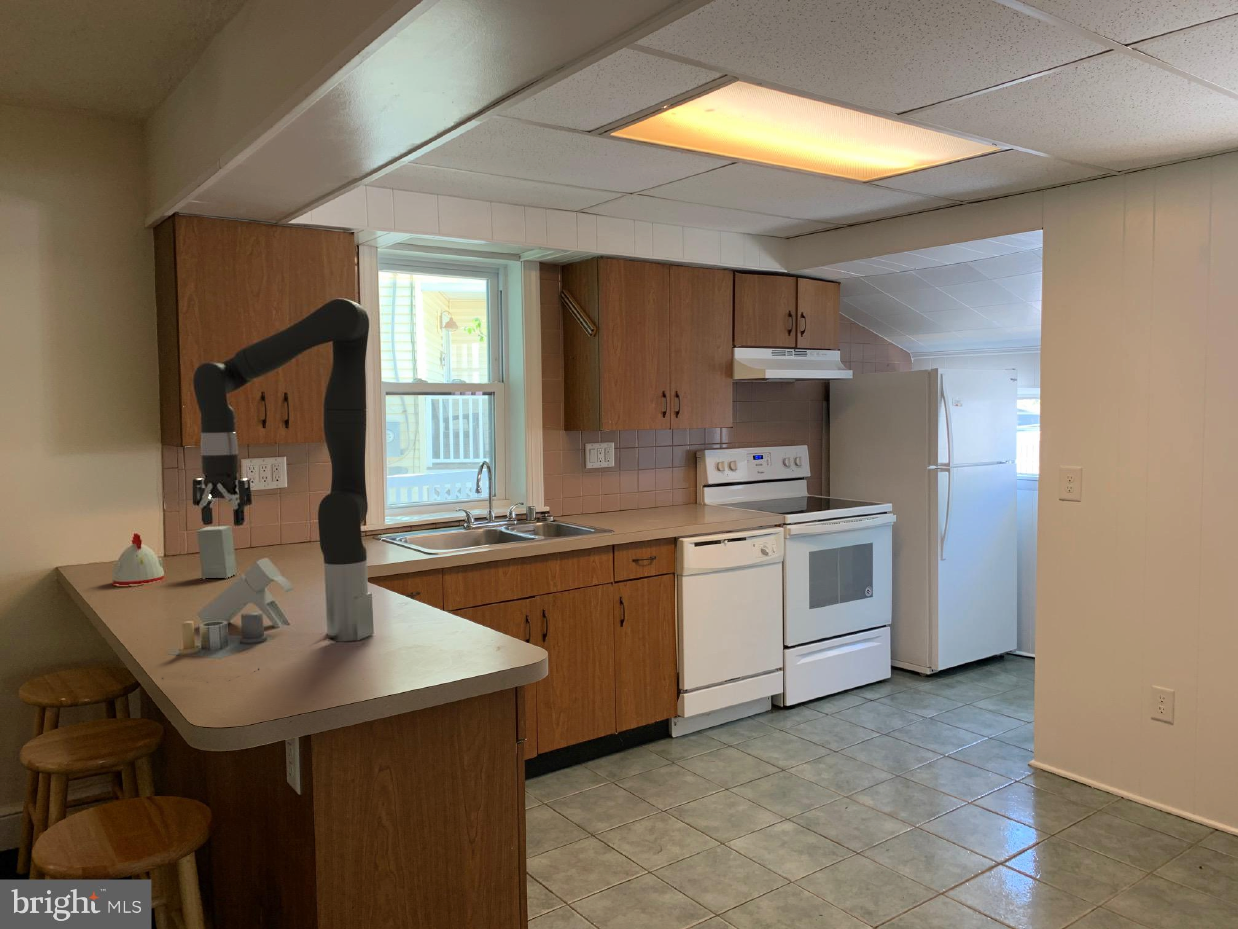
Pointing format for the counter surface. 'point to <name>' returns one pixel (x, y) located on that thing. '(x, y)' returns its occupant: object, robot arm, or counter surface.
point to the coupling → (214, 635)
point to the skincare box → (217, 552)
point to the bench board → (249, 638)
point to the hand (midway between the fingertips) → (223, 525)
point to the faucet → (249, 596)
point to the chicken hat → (137, 565)
